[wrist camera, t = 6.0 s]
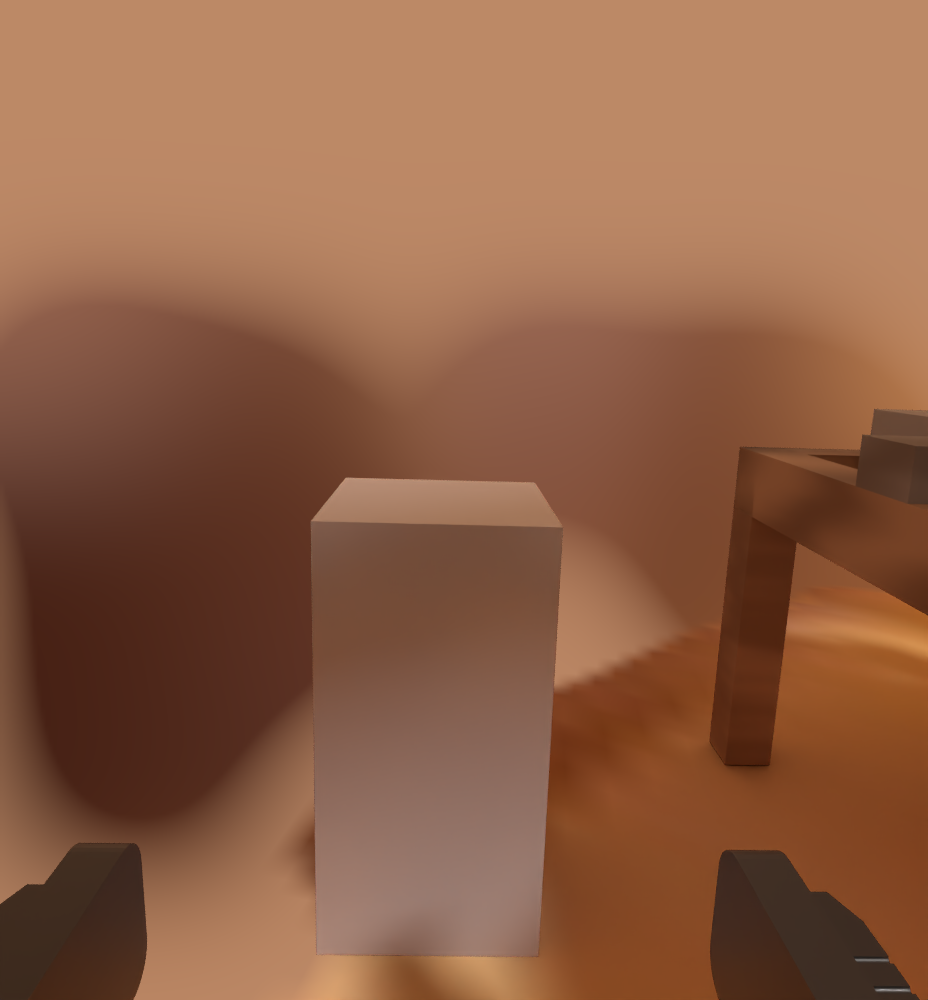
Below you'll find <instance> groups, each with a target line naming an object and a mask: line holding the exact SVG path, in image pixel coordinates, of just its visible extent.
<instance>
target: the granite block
mask: <svg viewBox="0 0 928 1000" xmlns="http://www.w3.org/2000/svg"><path fill="white" fill-rule="evenodd" d="M562 537H563V526H562V525H561V523H560V522H559V520H558V519H557V517H556V515H555V514H554V512H553V511H552V509H551V507H550V506H549V504H548V503H547V501H546V500H545V498H544V496H543V495H542V493H541V492H540V490H539V488H538V487H537V485H536V484H535V483H529V482H526V483H525V482H489V481H487V482H486V481H450V480H449V481H448V480H411V479H409V480H408V479H372V478H345V480H344V481H343V482H342V483H341V485H340V486H339V487H338V488H337V489H336V491H335V492H334V493H333V494H332V496H331V497H330V498H329V499H328V501H327V502H326V503H325V504H324V506H323V507H322V508H321V509H320V511H319V512H318V513H317V514H316V516H315V517H314V518H313V519H312V520H311V566H312V646H313V722H314V724H313V725H314V804H315V883H316V955H406V956H506V957H538V954H539V936H540V919H541V901H542V884H543V867H544V849H545V832H546V815H547V797H548V780H549V763H550V745H551V728H552V710H553V693H554V676H555V674H554V673H555V657H556V641H557V640H556V639H557V624H558V606H559V589H560V571H561V570H560V569H561V554H562Z"/></svg>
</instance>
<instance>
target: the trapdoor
mask: <svg viewBox="0 0 928 1000" xmlns="http://www.w3.org/2000/svg"><path fill="white" fill-rule="evenodd" d="M871 435H888V436H927V437H928V411H926V410H889V409H888V410H886V409H874V416H873V422H872V430H871Z"/></svg>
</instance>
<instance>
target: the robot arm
mask: <svg viewBox="0 0 928 1000" xmlns="http://www.w3.org/2000/svg"><path fill="white" fill-rule="evenodd" d="M142 877H143V876H142V862H141V854H140V850H139V848H138V846H137V845H136V844H134V843H132V844H131V843H78V844H76V845H74V846H73V847H72V848H71V849H70V850H69V852H68V853H67V854H66V856H65V857H64V858H63V860H62V861H61V862H60V864H59V865H58V866H57V868H56V869H55V870H54V872H53V873H52V874H51V876H50V877H49V878H48V880H47V881H46V883H45V884H44V885H29V884H27V885H26V886H24V887H23V888H22V889H21V890H19V891H17V892H16V893H15V894H13V895H12V896H11V897H9V898H8V899H7V900H5V901H4V902H3V903H1V904H0V1000H133V999H134V997H135V995H136V992H137V990H138V987H139V984H140V981H141V978H142V974H143V970H144V965H145V959H146V950H147V932H146V918H145V905H144V891H143V878H142ZM710 957H711V968H712V974H713V980H714V984H715V988H716V992H717V995H718V998H719V1000H919V998H918V997H917V995H916V994H912V993H911V991H910V986H909V984H908V983H907V982H906V980H905V979H904V977H903V976H902V975H901V973H900V972H899V971H898V969H897V968H896V966H895V965H894V964H890V962H889V959H888V955H887V954H886V953H885V951H884V950H883V948H882V947H881V946H880V944H879V943H878V941H877V940H876V939H875V937H874V936H873V935H872V933H871V932H870V930H869V929H868V928H867V926H866V925H865V923H864V922H863V921H862V920H861V919H859V918H858V917H857V916H856V915H854V914H853V913H852V912H851V911H850V910H848V909H847V908H846V907H845V906H843V905H842V904H841V903H840V902H838V901H837V900H836V899H835V898H833V897H832V896H831V895H830V894H829V893H827V892H810V891H809V889H808V888H807V886H806V885H805V883H804V882H803V880H802V879H801V877H800V876H799V874H798V873H797V871H796V870H795V868H794V867H793V865H792V864H791V862H790V861H789V859H788V858H787V857H786V855H785V854H784V853H783V852H781V851H770V850H726V851H724V852H723V853H722V855H721V858H720V862H719V869H718V879H717V888H716V897H715V906H714V915H713V924H712V933H711V943H710Z"/></svg>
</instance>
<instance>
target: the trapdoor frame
mask: <svg viewBox="0 0 928 1000" xmlns="http://www.w3.org/2000/svg"><path fill="white" fill-rule="evenodd" d="M797 542H798V543H799V544H801V545H803V546H805V547H807V548H808V549H810V550H812V551H814V552H815V553H817V554H819V555H821V556H823V557H824V558H826V559H828V560H830V561H832V562H834V563H835V564H837V565H839V566H841V567H843V568H844V569H846V570H848V571H849V572H851V573H853V574H855V575H857V576H859V577H860V578H862V579H864V580H866V581H867V582H869V583H871V584H873V585H875V586H876V587H878V588H880V589H882V590H883V591H885V592H887V593H889V594H891V595H892V596H894V597H896V598H898V599H900V600H901V601H903V602H905V603H907V604H908V605H910V606H912V607H914V608H916V609H917V610H919V611H921V612H923V613H925V614H926V615H928V437H927V436H888V435H862V442H861V449H860V450H843V449H804V448H765V447H763V448H762V447H740V452H739V461H738V471H737V480H736V491H735V500H734V511H733V520H732V529H731V539H730V548H729V558H728V567H727V577H726V587H725V597H724V606H723V616H722V625H721V635H720V645H719V654H718V664H717V674H716V683H715V693H714V703H713V712H712V722H711V732H710V743H711V744H712V746H713V747H714V749H715V750H716V752H717V753H718V755H719V756H720V758H721V759H722V761H723V762H724V764H725V765H769V764H770V756H771V747H772V739H773V731H774V723H775V715H776V707H777V698H778V690H779V682H780V674H781V666H782V657H783V649H784V641H785V633H786V625H787V616H788V608H789V600H790V592H791V584H792V575H793V567H794V559H795V550H796V543H797Z"/></svg>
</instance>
